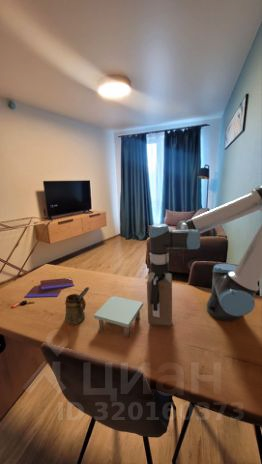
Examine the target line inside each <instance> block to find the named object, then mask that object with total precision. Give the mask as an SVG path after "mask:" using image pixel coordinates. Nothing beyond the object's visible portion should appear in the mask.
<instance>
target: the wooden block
mask: <svg viewBox="0 0 262 464" xmlns="http://www.w3.org/2000/svg"><path fill="white" fill-rule="evenodd" d="M164 274H165V277H164V279H163V280H160V281H159V287H158V292H159V305H160V317H155V316H153V304H150V301H151V290H152V279H154V275H155V273H153V272H152V271H151V272H149V274H148V278H147V281H146V298H147V303H146V304H147V322H148V324H150V325H158V326H172V324H173V275H172V273H170V272H167V273H164Z"/></svg>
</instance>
